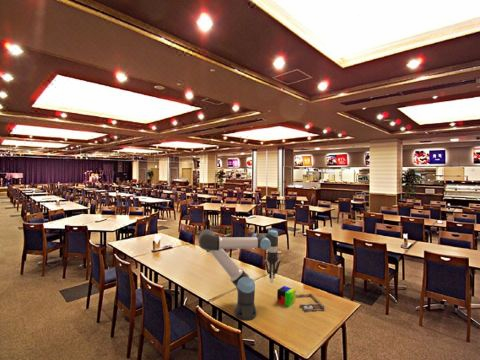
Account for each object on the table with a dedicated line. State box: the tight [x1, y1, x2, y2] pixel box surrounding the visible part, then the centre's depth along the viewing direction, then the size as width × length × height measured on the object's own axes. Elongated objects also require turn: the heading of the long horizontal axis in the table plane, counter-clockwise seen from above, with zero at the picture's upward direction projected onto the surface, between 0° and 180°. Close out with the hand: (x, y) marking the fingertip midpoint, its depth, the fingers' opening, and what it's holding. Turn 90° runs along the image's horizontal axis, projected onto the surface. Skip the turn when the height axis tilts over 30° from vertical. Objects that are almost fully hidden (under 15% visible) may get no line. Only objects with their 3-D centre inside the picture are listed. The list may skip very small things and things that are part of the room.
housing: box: [295, 293, 327, 313], centre depth 192 cm, size 17×24×4 cm
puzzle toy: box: [276, 285, 297, 307], centre depth 194 cm, size 10×10×10 cm
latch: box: [304, 305, 313, 310], centre depth 183 cm, size 6×2×3 cm, turn 100°
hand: (271, 282), depth 192 cm, fingers closed
